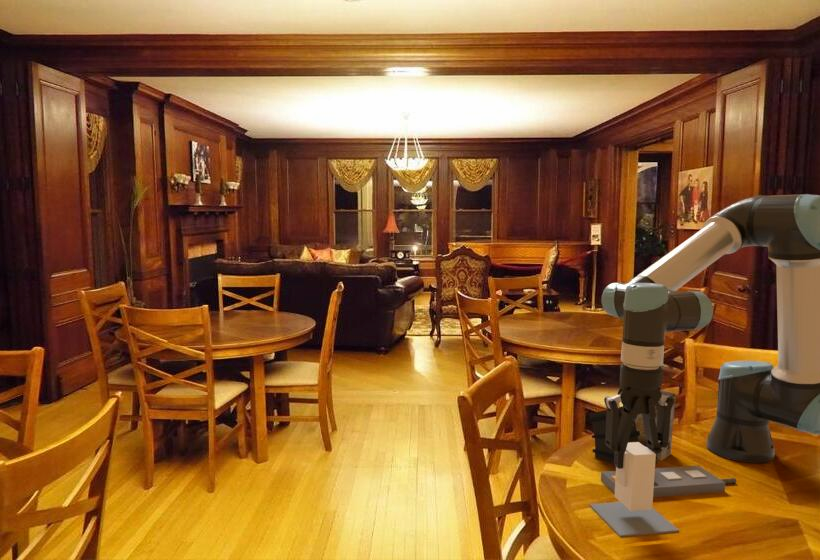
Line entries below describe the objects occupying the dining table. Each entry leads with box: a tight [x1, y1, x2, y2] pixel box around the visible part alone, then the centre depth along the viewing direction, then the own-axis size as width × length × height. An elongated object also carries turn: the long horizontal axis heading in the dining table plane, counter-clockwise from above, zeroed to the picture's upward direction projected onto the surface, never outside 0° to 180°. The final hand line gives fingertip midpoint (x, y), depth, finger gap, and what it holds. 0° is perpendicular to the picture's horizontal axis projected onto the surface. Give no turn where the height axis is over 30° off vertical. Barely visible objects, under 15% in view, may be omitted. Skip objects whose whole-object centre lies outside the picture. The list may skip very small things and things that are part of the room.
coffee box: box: [635, 389, 676, 461], centre depth 151 cm, size 9×6×16 cm
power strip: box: [600, 464, 737, 498], centre depth 133 cm, size 30×9×3 cm, turn 100°
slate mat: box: [589, 501, 680, 538], centre depth 118 cm, size 12×12×1 cm
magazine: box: [587, 405, 640, 466], centre depth 145 cm, size 4×13×15 cm, turn 32°
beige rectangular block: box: [614, 442, 656, 511], centre depth 117 cm, size 4×6×11 cm
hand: (634, 482), depth 117 cm, fingers closed on beige rectangular block, 4 cm apart
